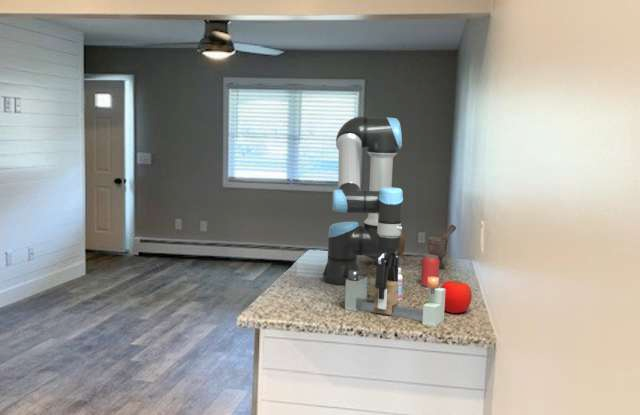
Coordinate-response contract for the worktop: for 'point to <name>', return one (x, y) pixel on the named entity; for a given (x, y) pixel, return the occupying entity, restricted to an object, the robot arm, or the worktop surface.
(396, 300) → the block
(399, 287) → the pill bottle
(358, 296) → the rail
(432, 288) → the cylinder
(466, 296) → the tomato
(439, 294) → the pale stepped block
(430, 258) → the beer can
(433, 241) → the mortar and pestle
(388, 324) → the worktop surface
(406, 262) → the worktop surface
